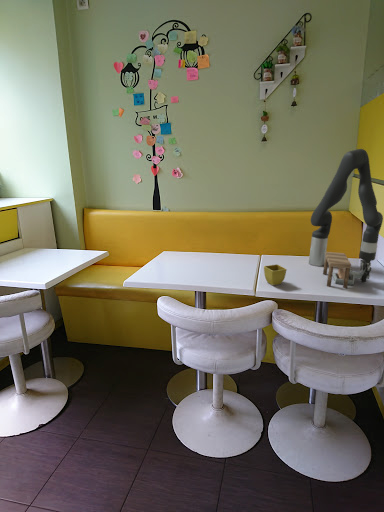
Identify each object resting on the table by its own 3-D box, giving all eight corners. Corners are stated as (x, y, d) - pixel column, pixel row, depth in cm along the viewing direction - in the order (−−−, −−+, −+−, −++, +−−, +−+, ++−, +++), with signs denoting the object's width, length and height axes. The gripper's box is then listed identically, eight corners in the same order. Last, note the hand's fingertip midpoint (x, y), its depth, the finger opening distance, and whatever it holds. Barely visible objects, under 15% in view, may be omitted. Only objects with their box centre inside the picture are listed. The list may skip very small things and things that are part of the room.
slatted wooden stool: (322, 273, 197) (325, 251, 193) (341, 275, 195) (344, 253, 191) (326, 286, 179) (330, 262, 175) (347, 288, 177) (351, 264, 173)
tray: (332, 276, 192) (334, 266, 190) (365, 279, 188) (367, 269, 186) (335, 283, 182) (337, 273, 181) (370, 286, 179) (372, 275, 177)
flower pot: (262, 281, 185) (263, 265, 182) (276, 279, 188) (277, 264, 185) (271, 287, 177) (272, 271, 174) (285, 285, 180) (287, 269, 177)
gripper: (357, 245, 185) (352, 275, 191) (363, 253, 173) (358, 285, 178) (372, 246, 184) (367, 277, 189) (379, 254, 171) (373, 286, 176)
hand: (362, 280), depth 184 cm, fingers closed on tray, 2 cm apart
